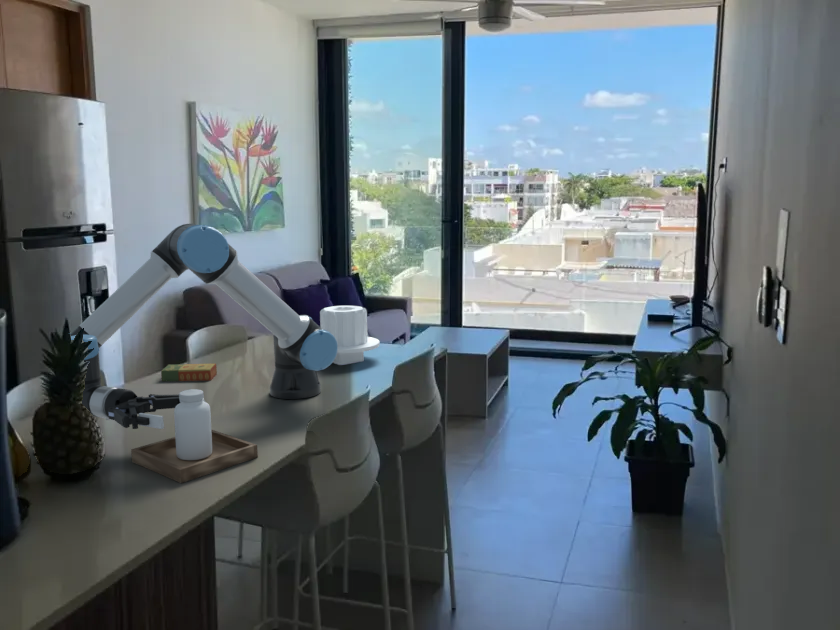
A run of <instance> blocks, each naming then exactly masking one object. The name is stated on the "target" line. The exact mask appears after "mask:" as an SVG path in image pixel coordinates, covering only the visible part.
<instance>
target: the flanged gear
mask: <svg viewBox="0 0 840 630" xmlns="http://www.w3.org/2000/svg"><path fill="white" fill-rule="evenodd" d="M319 321H320V323H319V324H320V325H319V327H321V328H322V329H323V330H327V331H329V332H330V333H331V334H332V335H333V336H334V337H335V339H336V341H337V345H338V347H337V348H338V349H337V355H336V357H335V359H334V361H333V362H332V364H335V365H338V366H345V365H350V364H351V365H352V364H355V363H362V362H364V359H365V358H364V352H369V351H373V350H375V349H377V348H379V347H380V342H381V341H380V340H379V339H378V338H376V337H371V336H368V309H367V308H366V307H363V306H359V305H334V306H333V305H332V306H328V307H324V308H322V309H321V310H320V311H319Z"/></svg>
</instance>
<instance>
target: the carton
mask: <svg viewBox="0 0 840 630" xmlns="http://www.w3.org/2000/svg"><path fill="white" fill-rule="evenodd" d="M160 371H161V372H160V378H161V382H186V381H187V382H191V381H192V382H195V381H196V382H197V381H201V382H203V381H207V382H208V381H212V380H213V379H214V378H215V377H216V376H217V375H218V374H217V373H218V367H217V363H185V364H184V363H183V364H182V363H181V364H179V363H178V364H170V363H169V364H167V365H166V366H165V367H163V369H162V370H160Z"/></svg>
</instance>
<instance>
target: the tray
mask: <svg viewBox="0 0 840 630" xmlns="http://www.w3.org/2000/svg"><path fill="white" fill-rule="evenodd" d="M211 433H212V454H211V455H210V456H208V457H206V458H204V459H199V460H182V459H179V458H178V457H177V454H176V439H175V436H173V437H170V438H166V439H163V440H159V441H155V442H152V443H149V444H145V445H142V446H138V447H135V448H134V447H133V448H132V449H131V448H130V449H131V451H130V452H131V462H132V463H133V464H135V465H139V466H141V467H143V468H146V469H148V470H150V471H152V472H154V473H157V474H158V475H161V476H163V477H166V478H168V479H170V480H173V481H176V482H178V483H179V484H183V483H186V482H189V481H192V480H195V479H197V478H198V479H199V478H202V477H204V476H207V475H209V474H212V473H215V472H218V471H222V470H224V469H227V468H230V467H231V468H232V467H233V466H237V465H239V464H241V463H245V462H248V461H251V460H254V459H257V458H258V457H259V456H258V455H259V453H258V444H255V443H252V442H250V441H247V440H244V439H240V438H238V437H235V436H232V435H229V434H226V433H223V432H220V431H217V430H215V429H212V428H211Z"/></svg>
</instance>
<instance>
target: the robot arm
mask: <svg viewBox="0 0 840 630" xmlns="http://www.w3.org/2000/svg"><path fill="white" fill-rule="evenodd" d="M149 257H150V258H149V259H147V260H146V262H145V263H143V264H142V265H141V267H139V268H138V269H137V270H136V271H135V272H134V273H133V274H132V275H131V276H130V277H129V278H128V279H127V280H126V281H125V282H124V283H122V284H121V285H120V286H119V288H117V289H116V290H114V292H113V293H112V294H111V295H109V297H108V298H106V299H105V301H103V302H102V303H101V304H100V305H99V306H98V307H97V308H96V309H95V310H94V311H92V312H91V314H90V315H88V317H86V318H85V320H83V322H81V323H80V324H79V325H78V326H77V327H76V328H75V329H74V330H73V331H72V332H71V333H69V334H70V335H71V340H74V338H75V336H76V335H77V333H78V332H79V331H80V330H81V329H83V328H84V332H83V341H84V342H88V341H92V342H91V344H90V345H89V346H88V349H93V348H94V350H93V351H92V352H91V353H90V354H89V355H88V356H87V357H86V358H85V359H84V362H86V361H90V363H89V364H88V366H87V368H88V370H87V373H86V378H85V389H84V391H83V400H82V404H83V405H84V406H85V407H86V408H87V409H88V410H89V411H90V413H91V414H92V415H93V416H92V417H96V418H103V419H105V420H106V421H109V420H112V421H114V422H116V423H118V425H120V426H121V427H122V428H125V429H127V428H130V427H132V428H131V429H132V430H137V429H139V426H140V427H148V428H154V429H159V430H161V429H163V430H164V429H165V425H164V424H165V423H164V421H165V420H164V415H158V414H152V413H155V412H156V411H157V410H168V409H175V407H176V406H177V405H178V404H179V403H181V402H180V400H179V393H177V394H152V393H150V394H148V396H147V397H145V396H138V395H137V394H136V393H135V392H134V391H133V390H131V389H125V388H118V387H114V386H106V385H102V380H101V379H102V378H101V368H100V367H101V365H100V353H99V352H100V348H101V347H102V346H103V345H104V344H105V343H106V342H107V341H109V339H110V338H111V337H113V336H114V334H115V333H116V332H118V330H120V329H121V327H123V326H124V324H126V323H127V321H130V319H131V318H132V317H133V316H135V314H136V313H137V312H138V311H139V310H141V308H142V307H143V306H144V305H145V304H147V302H149V301H150V299H151V298H153V297H154V295H156V294H157V293H158V292H159V291H160V290H161V289H162V288H163V287H164V286H165V285H167V283H169V281H170V280H171V279H176V278H179V277H181V275H182V274H184V273H185V272H186V271H187V270H189V271H191V272H192V273H193V274H194V275H195V276H196V277H198V278H199V280H201V281H203V283H204V284H206V285H216V286H217V287H218V288H219V289H220V290H222V292H224V293H225V294H226V295H228V296H229V297H230V298H231V299H232V300H233V301H234V302H235V303H236V304H238V305H239V306H240V307H241V308H243V310H244V311H246V312H247V313H248V314H249V315H251V316H252V317H253V318H254V319H255V320H256V321H258V322H259V323H260V324H261V325H262V326H263V327H264V328H266V329H267V330H268V331H269V332H270V333H271V334H273V355H274V372H273V375H272V379H271V384H270V386H269V395H270V396H272V397H274V398H276V399H283V400H298V399H299V400H300V399H306V398H307V399H308V398H311V397H314V396H317V395H319V394H321V382H320V381H319V377H318V374H317V371H323V370H325V369H327V368H329V366H331V365H332V364H333V363H332V362H333V361H334V359H335V357H336V355H337V349H338V348H337V347H338V345H337V341H336V339H335V337H334V336H333V335H332V334H331V333H330V332H329V331H327V330H323V329H322V328H321V327H320V325H318V324H317V322H315V321H314V319H313V318H312V317H311V316H309V315H307V314H300V315H299V314H298V313H297V312H296V311H295V310H294V309H292V307H290V306H289V304H287V303H286V302H285V301H284V300H282V299H281V297H279V296H278V294H276V293H275V292H274V291H273V290H272V289H271V288H269V286H267V285H266V284H265V283H264V282H263V281H262V280H260V279H259V277H257V276H256V275H255V274H254V273H253V272H252V271H251V270H249V269H248V268H247V267H246V266H245V265H244V264H243V263H242V262H241V261H240V260H238V251H237V250H236V249H235V248H233V246H231V244H229V242H228V241H227V238H226V237H225V236H224V235H223V233H222V232H221V231H219V229H217V228H215V227H213V226H210V225H206V224H196V223H183V224H181V225H178V226H177V227H175V228H174V229H173V230H171V231H170V232H169V233H168V234H167V235H166V236H165V237H164V238H163V239H162V240H161V241H160V243H159V244H157V245H156V247H154V249H152V250H151V251H150V256H149ZM203 401H204V402H206V400H205V399H204V400H203ZM151 406H152V408H151Z"/></svg>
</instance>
